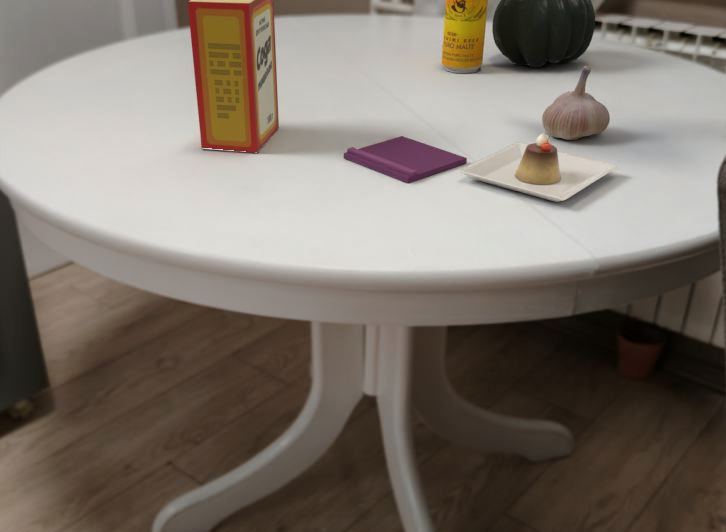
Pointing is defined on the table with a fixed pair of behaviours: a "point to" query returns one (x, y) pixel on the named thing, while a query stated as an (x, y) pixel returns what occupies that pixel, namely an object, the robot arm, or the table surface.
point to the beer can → (464, 35)
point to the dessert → (538, 170)
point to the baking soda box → (234, 72)
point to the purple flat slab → (404, 158)
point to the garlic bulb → (576, 113)
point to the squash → (543, 30)
